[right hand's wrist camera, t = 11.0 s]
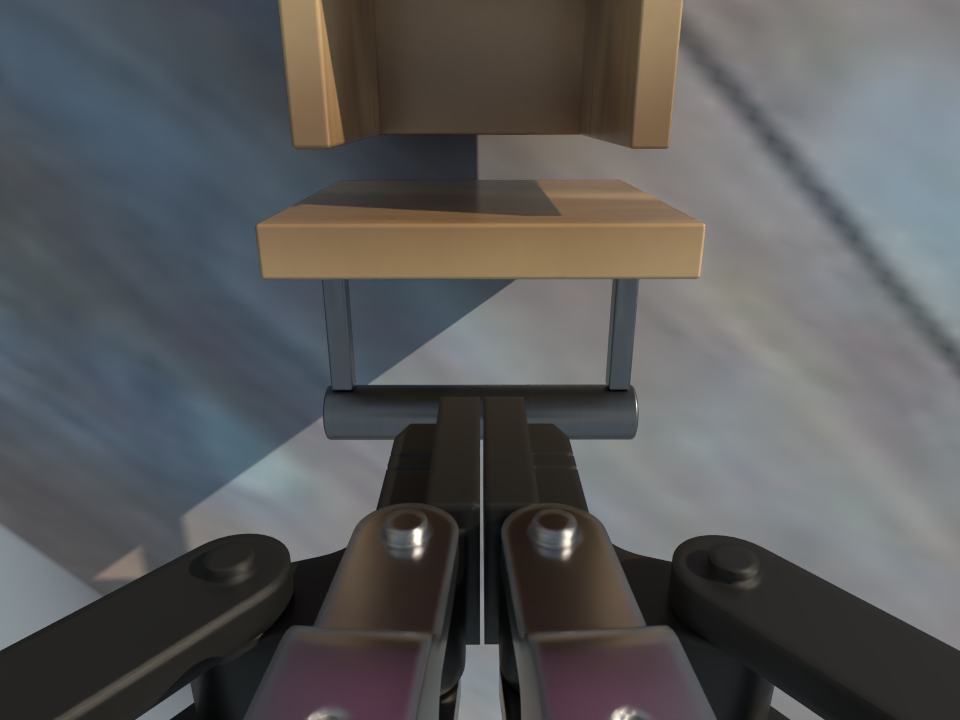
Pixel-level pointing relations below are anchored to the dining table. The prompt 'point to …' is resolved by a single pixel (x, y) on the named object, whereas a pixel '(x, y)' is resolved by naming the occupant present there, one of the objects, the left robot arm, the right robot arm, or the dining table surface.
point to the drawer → (480, 203)
